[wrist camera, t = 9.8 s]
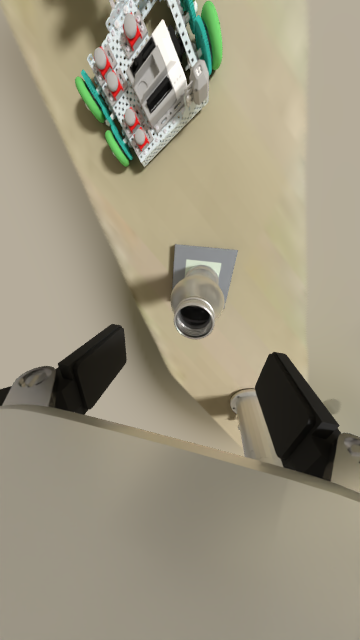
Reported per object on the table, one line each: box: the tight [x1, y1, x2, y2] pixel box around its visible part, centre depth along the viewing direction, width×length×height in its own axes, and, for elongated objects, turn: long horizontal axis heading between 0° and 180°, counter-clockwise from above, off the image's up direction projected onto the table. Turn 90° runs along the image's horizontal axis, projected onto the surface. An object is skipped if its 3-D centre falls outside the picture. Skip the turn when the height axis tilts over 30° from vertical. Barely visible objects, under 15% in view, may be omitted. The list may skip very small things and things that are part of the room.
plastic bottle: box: [171, 265, 224, 339], centre depth 22 cm, size 6×7×20 cm
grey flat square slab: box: [172, 244, 238, 309], centre depth 31 cm, size 12×12×2 cm
